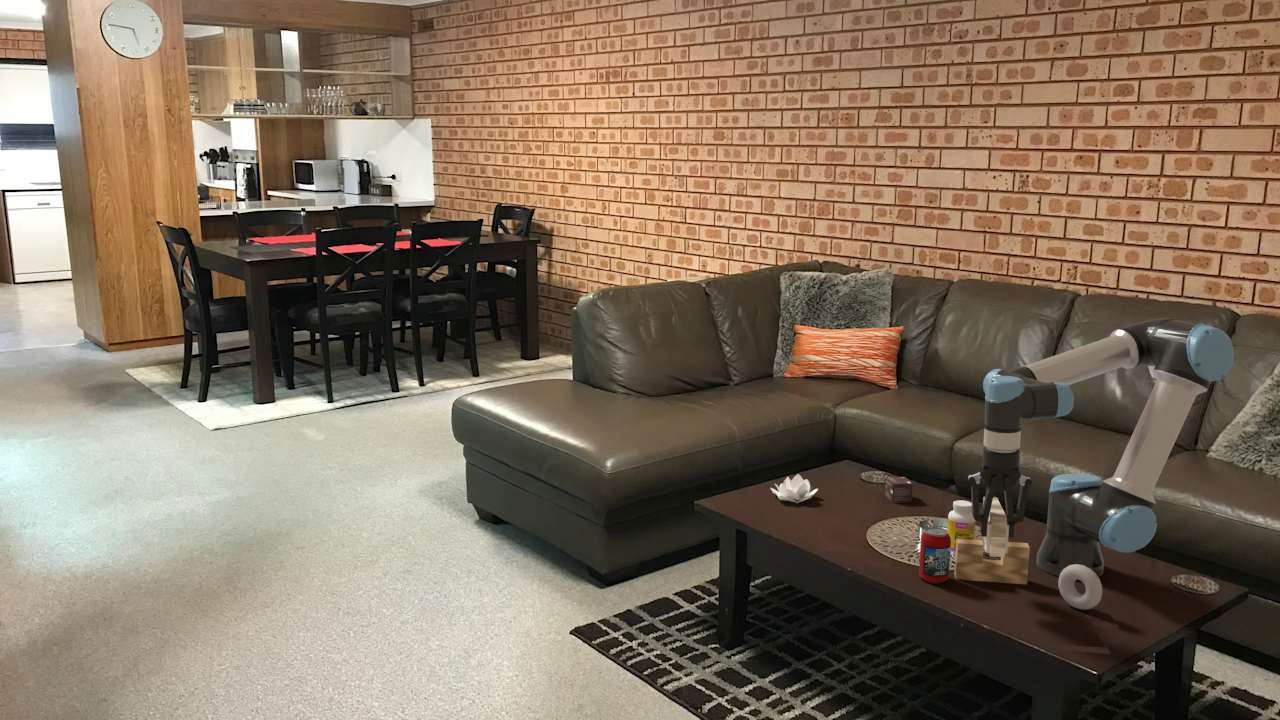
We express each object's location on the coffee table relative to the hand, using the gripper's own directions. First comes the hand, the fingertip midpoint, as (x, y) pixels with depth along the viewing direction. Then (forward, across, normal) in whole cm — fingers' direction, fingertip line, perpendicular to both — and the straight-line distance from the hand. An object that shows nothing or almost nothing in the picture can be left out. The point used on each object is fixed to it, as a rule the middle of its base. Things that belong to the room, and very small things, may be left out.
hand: (995, 550), depth 230 cm
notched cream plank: (0, 0, -4) cm, 4 cm away
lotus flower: (+13, +46, -60) cm, 77 cm away
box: (+13, +17, -66) cm, 70 cm away
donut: (+13, -18, -1) cm, 22 cm away
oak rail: (+13, -2, -14) cm, 19 cm away
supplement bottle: (+13, +4, -31) cm, 34 cm away
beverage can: (+13, +12, -12) cm, 21 cm away
